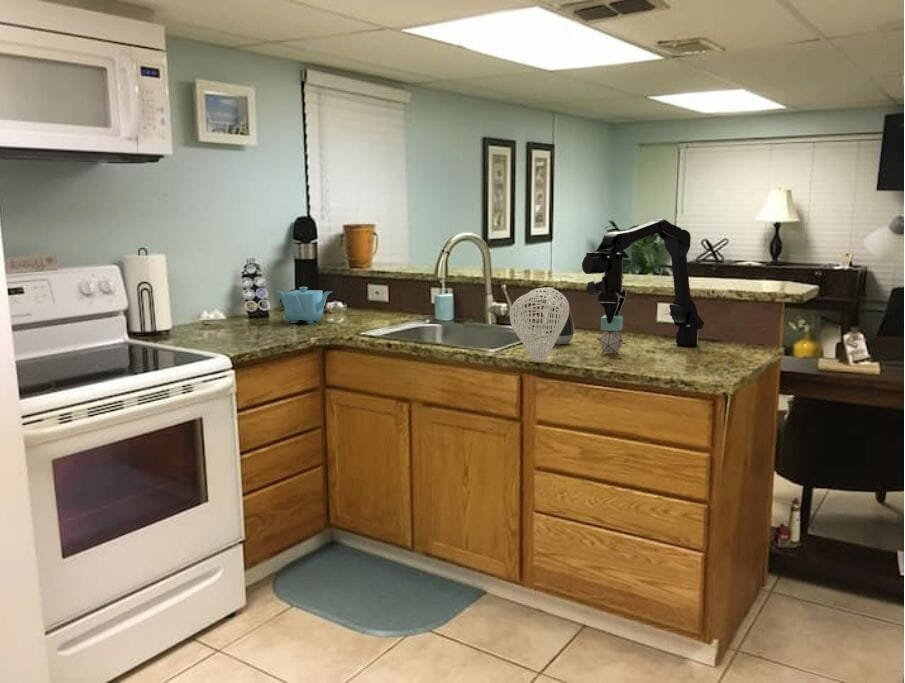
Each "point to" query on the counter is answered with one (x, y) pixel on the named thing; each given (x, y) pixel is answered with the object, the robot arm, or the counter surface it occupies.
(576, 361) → the counter surface
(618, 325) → the teal block
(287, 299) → the teakettle
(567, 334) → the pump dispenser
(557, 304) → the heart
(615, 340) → the game die
